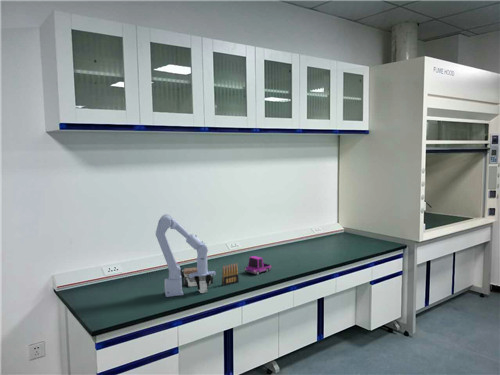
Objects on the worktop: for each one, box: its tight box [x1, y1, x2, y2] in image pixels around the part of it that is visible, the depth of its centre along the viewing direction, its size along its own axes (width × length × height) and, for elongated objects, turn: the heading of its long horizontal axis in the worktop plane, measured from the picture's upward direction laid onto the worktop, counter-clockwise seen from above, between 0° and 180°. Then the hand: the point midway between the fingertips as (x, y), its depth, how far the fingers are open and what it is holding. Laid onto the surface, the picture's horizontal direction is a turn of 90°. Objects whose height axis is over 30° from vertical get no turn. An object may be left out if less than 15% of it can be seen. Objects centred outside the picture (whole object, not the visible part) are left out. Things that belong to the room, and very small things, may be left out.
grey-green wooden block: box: [198, 281, 208, 294], centre depth 229 cm, size 4×5×5 cm
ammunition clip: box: [221, 262, 240, 287], centre depth 241 cm, size 11×2×12 cm, turn 125°
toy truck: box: [244, 255, 272, 276], centre depth 264 cm, size 11×16×10 cm
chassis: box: [180, 267, 214, 288], centre depth 250 cm, size 17×24×5 cm
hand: (202, 288), depth 229 cm, fingers closed on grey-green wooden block, 4 cm apart
